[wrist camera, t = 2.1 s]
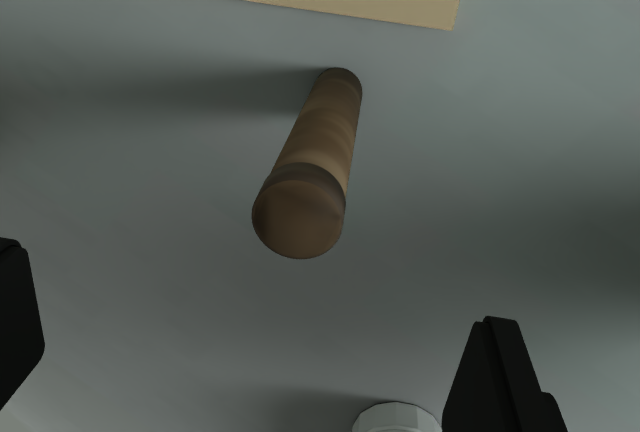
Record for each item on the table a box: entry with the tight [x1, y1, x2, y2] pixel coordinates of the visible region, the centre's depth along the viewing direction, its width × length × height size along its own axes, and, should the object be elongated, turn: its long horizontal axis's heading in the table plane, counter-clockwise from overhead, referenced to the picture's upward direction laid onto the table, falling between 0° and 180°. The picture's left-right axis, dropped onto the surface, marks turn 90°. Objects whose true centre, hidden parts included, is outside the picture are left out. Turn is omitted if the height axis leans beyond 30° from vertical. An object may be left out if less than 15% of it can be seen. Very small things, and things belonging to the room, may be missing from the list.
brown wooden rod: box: [252, 68, 362, 259], centre depth 21 cm, size 3×3×14 cm
